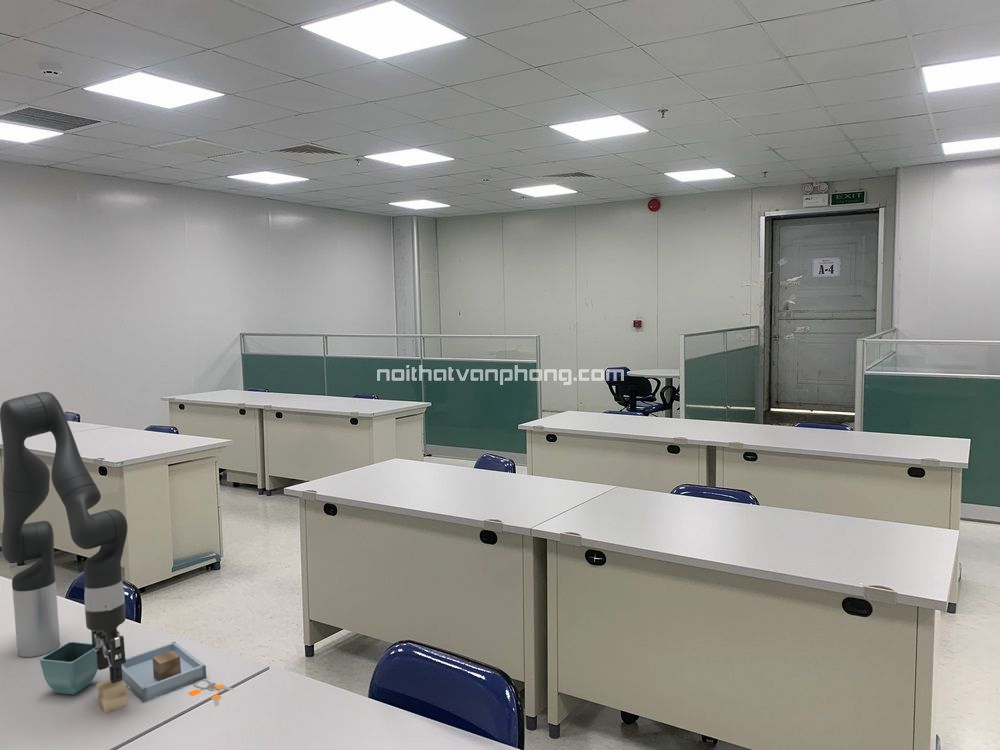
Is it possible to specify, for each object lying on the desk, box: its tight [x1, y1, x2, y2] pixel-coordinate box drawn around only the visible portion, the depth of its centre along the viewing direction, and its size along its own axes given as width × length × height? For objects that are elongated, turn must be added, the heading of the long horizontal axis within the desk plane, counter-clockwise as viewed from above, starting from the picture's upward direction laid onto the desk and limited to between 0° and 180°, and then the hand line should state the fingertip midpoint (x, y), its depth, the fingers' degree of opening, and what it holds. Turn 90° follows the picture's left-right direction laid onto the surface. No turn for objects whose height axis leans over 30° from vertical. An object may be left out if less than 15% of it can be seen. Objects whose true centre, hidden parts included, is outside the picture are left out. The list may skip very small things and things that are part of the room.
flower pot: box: [39, 641, 99, 695], centre depth 160 cm, size 9×9×9 cm
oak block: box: [96, 678, 128, 714], centre depth 153 cm, size 4×4×5 cm
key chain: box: [188, 678, 235, 707], centre depth 158 cm, size 13×7×1 cm, turn 58°
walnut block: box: [153, 651, 181, 681], centre depth 162 cm, size 4×4×5 cm
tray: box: [122, 641, 207, 703], centre depth 165 cm, size 18×14×3 cm
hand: (109, 674), depth 152 cm, fingers open, 8 cm apart
